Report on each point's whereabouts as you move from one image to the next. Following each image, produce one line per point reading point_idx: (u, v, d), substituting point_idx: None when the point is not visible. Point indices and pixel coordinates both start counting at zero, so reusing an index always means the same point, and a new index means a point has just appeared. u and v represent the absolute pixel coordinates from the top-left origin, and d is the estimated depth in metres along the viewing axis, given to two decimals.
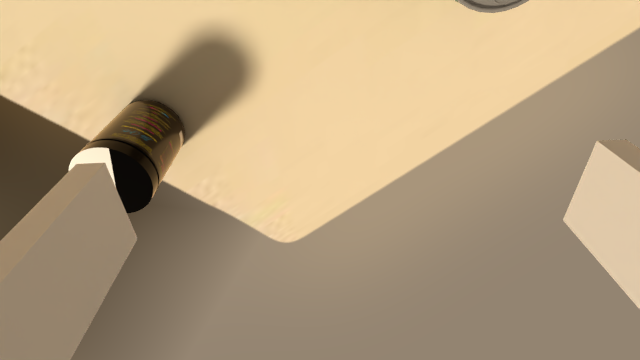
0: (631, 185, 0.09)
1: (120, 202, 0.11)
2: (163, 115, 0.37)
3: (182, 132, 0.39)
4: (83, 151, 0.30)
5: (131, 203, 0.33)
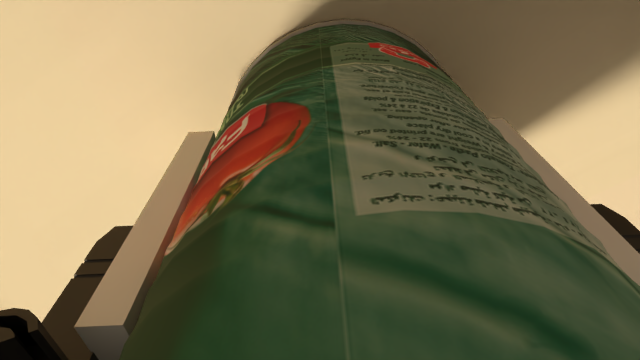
0: None
1: None
2: None
3: None
4: None
5: None
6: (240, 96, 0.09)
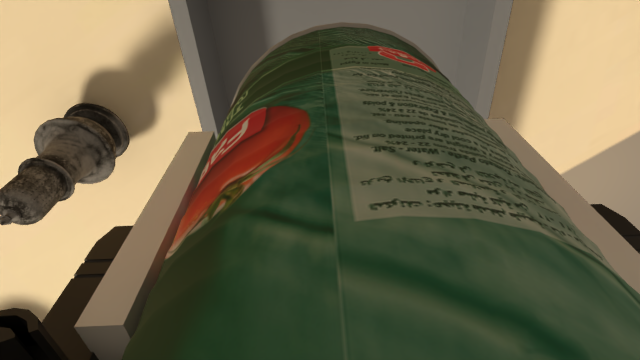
0: None
1: None
2: None
3: None
4: None
5: None
6: (240, 99, 0.09)
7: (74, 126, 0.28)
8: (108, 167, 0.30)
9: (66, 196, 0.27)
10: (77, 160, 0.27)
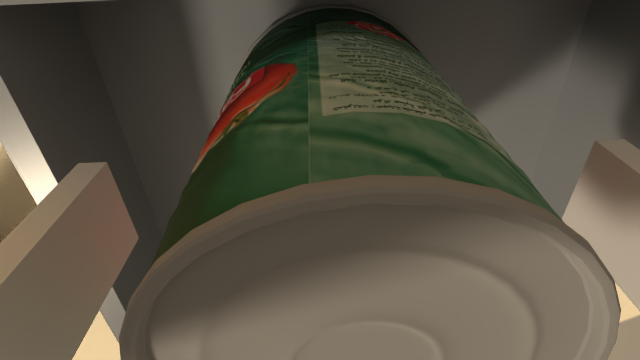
0: (629, 184, 0.09)
1: (121, 201, 0.11)
2: None
3: None
4: None
5: None
6: (244, 68, 0.11)
7: None
8: None
9: None
10: None
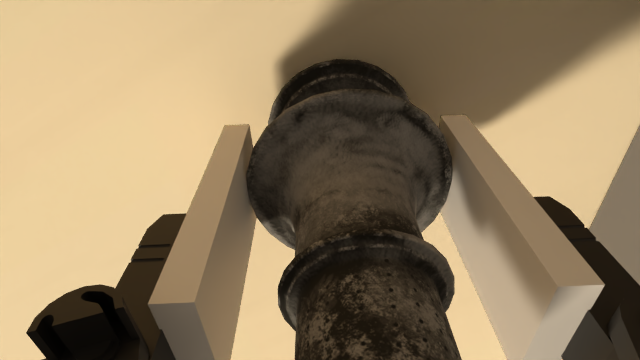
0: (454, 151, 0.10)
1: None
2: None
3: None
4: None
5: None
6: None
7: (391, 115, 0.09)
8: (420, 225, 0.11)
9: None
10: (416, 220, 0.09)
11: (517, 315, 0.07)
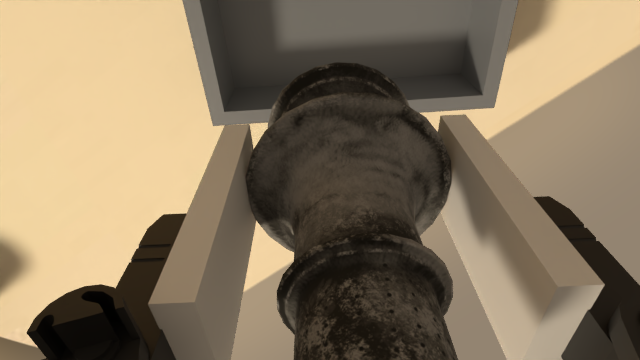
0: (454, 151, 0.10)
1: None
2: None
3: None
4: None
5: None
6: None
7: (390, 118, 0.09)
8: (419, 228, 0.11)
9: None
10: (414, 223, 0.09)
11: (517, 315, 0.07)
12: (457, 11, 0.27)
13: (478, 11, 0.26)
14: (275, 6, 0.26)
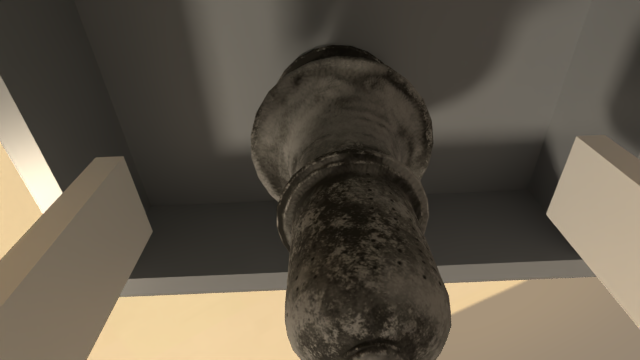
0: (607, 179, 0.09)
1: (137, 195, 0.11)
2: None
3: None
4: None
5: None
6: None
7: (376, 79, 0.11)
8: None
9: None
10: None
11: None
12: (535, 97, 0.15)
13: (580, 106, 0.14)
14: (209, 85, 0.15)
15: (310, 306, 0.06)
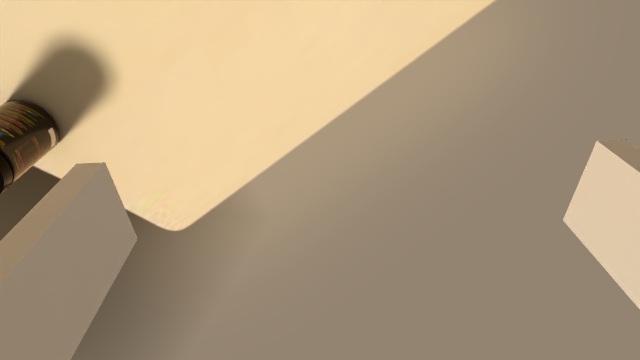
0: (631, 185, 0.09)
1: (120, 203, 0.11)
2: (31, 114, 0.41)
3: (53, 129, 0.43)
4: None
5: None
6: None
7: None
8: None
9: None
10: None
11: None
12: None
13: None
14: None
15: None
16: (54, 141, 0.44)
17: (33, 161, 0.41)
